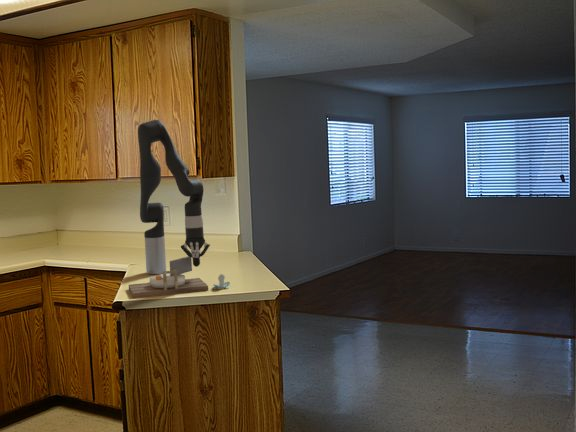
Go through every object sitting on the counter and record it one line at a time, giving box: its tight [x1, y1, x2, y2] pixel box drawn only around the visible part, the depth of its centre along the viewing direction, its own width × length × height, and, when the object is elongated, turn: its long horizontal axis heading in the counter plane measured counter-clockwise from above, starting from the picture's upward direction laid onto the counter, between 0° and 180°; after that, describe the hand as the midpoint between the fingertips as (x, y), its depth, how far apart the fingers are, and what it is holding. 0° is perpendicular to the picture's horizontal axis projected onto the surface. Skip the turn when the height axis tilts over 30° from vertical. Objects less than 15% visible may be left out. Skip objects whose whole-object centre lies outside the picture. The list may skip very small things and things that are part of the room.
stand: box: [128, 270, 209, 299], centre depth 270 cm, size 18×30×9 cm, turn 109°
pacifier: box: [212, 273, 231, 290], centre depth 270 cm, size 7×6×6 cm
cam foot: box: [149, 255, 193, 288], centre depth 274 cm, size 23×14×9 cm, turn 151°
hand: (196, 266), depth 281 cm, fingers closed
